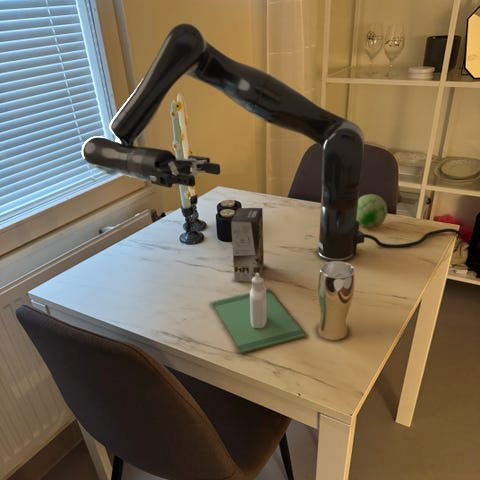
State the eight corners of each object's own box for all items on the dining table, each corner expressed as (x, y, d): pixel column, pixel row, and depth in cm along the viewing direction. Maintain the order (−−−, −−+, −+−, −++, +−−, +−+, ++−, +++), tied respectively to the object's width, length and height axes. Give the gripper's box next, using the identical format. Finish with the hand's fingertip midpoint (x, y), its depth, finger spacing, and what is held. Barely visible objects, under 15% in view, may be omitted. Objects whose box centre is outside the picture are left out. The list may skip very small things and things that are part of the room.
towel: (268, 290, 112) (268, 288, 111) (304, 336, 96) (305, 334, 96) (213, 303, 108) (212, 301, 108) (241, 353, 93) (241, 351, 92)
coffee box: (259, 282, 115) (257, 222, 106) (233, 281, 116) (229, 221, 107) (264, 265, 122) (263, 207, 113) (241, 264, 123) (237, 206, 114)
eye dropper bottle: (274, 318, 101) (273, 270, 94) (260, 331, 97) (258, 282, 90) (257, 312, 103) (256, 265, 96) (243, 325, 99) (240, 276, 93)
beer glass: (312, 323, 100) (315, 261, 91) (344, 320, 100) (350, 258, 91) (319, 343, 94) (323, 279, 85) (353, 339, 94) (360, 276, 86)
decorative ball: (370, 218, 143) (374, 186, 138) (391, 230, 136) (396, 197, 130) (344, 225, 140) (346, 193, 135) (364, 237, 133) (367, 204, 127)
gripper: (126, 156, 99) (182, 166, 91) (170, 140, 108) (225, 148, 100) (132, 190, 103) (187, 203, 95) (174, 172, 113) (228, 182, 105)
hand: (207, 175), depth 98 cm, fingers open, 8 cm apart
